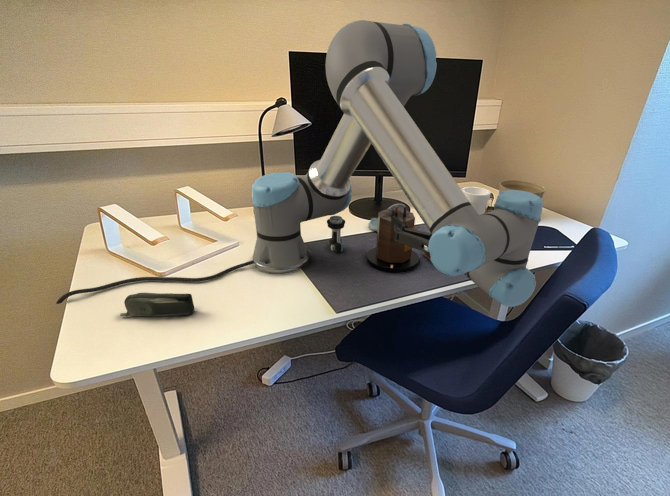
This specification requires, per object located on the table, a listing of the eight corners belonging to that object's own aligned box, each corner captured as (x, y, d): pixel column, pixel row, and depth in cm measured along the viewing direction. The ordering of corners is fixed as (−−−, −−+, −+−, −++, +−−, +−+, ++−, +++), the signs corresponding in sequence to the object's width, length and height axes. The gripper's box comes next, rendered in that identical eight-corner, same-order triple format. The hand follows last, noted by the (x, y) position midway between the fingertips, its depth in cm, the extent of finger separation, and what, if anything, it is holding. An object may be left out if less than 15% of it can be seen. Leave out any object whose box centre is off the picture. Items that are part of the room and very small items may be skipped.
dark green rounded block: (192, 290, 87) (118, 292, 85) (189, 297, 84) (112, 299, 82) (195, 309, 90) (124, 311, 87) (192, 317, 87) (119, 319, 85)
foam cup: (488, 231, 136) (496, 194, 129) (465, 234, 133) (472, 196, 126) (472, 221, 143) (479, 185, 136) (450, 224, 140) (456, 187, 133)
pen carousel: (369, 255, 112) (372, 205, 105) (390, 245, 118) (394, 198, 111) (396, 266, 107) (401, 215, 99) (417, 255, 113) (422, 206, 106)
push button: (321, 246, 120) (321, 215, 115) (336, 243, 123) (336, 212, 117) (333, 255, 115) (332, 222, 110) (348, 251, 118) (348, 219, 113)
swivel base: (380, 277, 105) (380, 271, 105) (358, 253, 117) (359, 248, 116) (428, 268, 111) (429, 263, 110) (403, 246, 122) (403, 242, 121)
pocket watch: (384, 206, 121) (360, 192, 132) (382, 239, 127) (359, 222, 138) (411, 201, 125) (386, 188, 136) (407, 233, 131) (384, 218, 142)
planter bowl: (538, 224, 143) (546, 194, 137) (492, 217, 147) (499, 188, 141) (536, 210, 156) (544, 182, 150) (494, 204, 160) (500, 177, 154)
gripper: (413, 281, 78) (370, 239, 94) (512, 262, 87) (457, 226, 103) (418, 246, 74) (371, 208, 90) (521, 230, 83) (462, 198, 99)
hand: (417, 218), depth 97 cm, fingers open, 13 cm apart
